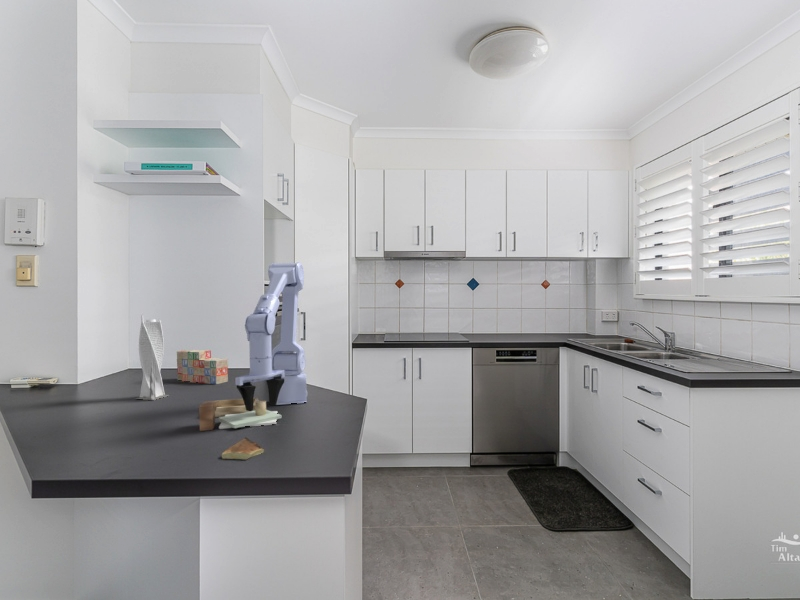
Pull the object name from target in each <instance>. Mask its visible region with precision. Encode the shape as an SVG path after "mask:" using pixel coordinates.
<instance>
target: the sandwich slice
mask: <svg viewBox="0 0 800 600" xmlns="http://www.w3.org/2000/svg"><path fill="white" fill-rule="evenodd" d="M264 452H265V449H264V448H263V447H262V446H260V445H258V444H257V443H256V442H255V441H253V440H251V439H249V438H247V437H244V438H243V439H241V440H240V441H238V442H236V443H234V444H233V445H232V446H229V447H228V448H227V449H226V450H224V451H223V452H222V453H221V458H222V459H224V460H225V459H229V460H231V459H232V460H233V459H235V460H245V461H246V460H248V459H249V458H252V457H255V456H258V455H261V453H262V454H263V453H264Z"/></svg>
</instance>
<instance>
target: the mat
mask: <svg viewBox="0 0 800 600" xmlns="http://www.w3.org/2000/svg"><path fill="white" fill-rule="evenodd" d="M270 411H271V412H274V413H278V410H270ZM278 414H279V413H278ZM230 415H235V414H227V415H225V416H230ZM225 416H224V417H225ZM277 420H278V419H275V420H271V421H266V422H261V423H257V424H252V425H248V426H250V427H259V426H260V427H261V425H264V426H273V425H272V424H276V425H277V422H276V421H277ZM242 428H246V427H245V426H243V427H242ZM218 429H219V430H223V429H234V428H233V427H231V426H229V425H227V424H225V423H222V422H220V424H219V426H218Z"/></svg>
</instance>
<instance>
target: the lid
mask: <svg viewBox="0 0 800 600" xmlns="http://www.w3.org/2000/svg"><path fill="white" fill-rule="evenodd" d="M271 411H272V410H268V409H267V400H264V399H263V400H259V399H258V401H256V402H255V411H250V412H245V413H240V414H235V415H230V416H223V417H218V422H220V423H221V422H222V423H225V424H227V425H229V426H231V427H233V428H232V429H238V428H244V427H243V426H248V425H252V424H257V423H261V422H266V421H271V420H275V419H277V420H278V419H282V418H283V417H282V414H280V413H278V414H277V413H274V412H271Z"/></svg>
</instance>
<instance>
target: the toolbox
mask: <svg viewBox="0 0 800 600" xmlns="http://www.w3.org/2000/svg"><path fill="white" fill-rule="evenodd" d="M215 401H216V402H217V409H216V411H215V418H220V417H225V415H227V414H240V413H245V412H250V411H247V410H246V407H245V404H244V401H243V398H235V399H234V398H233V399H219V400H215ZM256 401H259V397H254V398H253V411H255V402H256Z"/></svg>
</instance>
